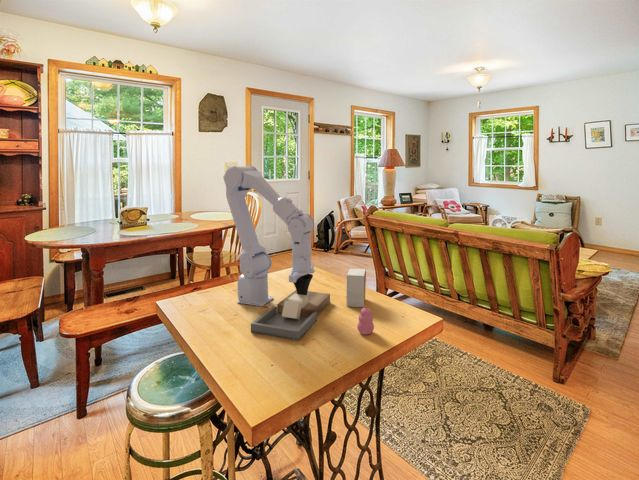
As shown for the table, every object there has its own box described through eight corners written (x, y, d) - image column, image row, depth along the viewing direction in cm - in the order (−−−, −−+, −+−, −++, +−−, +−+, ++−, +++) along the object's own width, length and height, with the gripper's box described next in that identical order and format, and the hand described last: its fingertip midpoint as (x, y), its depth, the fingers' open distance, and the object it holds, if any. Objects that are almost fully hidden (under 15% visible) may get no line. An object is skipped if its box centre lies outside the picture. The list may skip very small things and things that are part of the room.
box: (251, 332, 98) (250, 323, 98) (273, 313, 110) (273, 306, 110) (298, 340, 94) (298, 331, 93) (316, 320, 105) (316, 312, 105)
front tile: (284, 317, 107) (281, 316, 104) (288, 302, 108) (284, 300, 106) (299, 319, 105) (295, 318, 103) (302, 304, 106) (299, 302, 104)
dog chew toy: (358, 328, 101) (359, 303, 99) (375, 330, 99) (375, 305, 98) (355, 335, 97) (355, 309, 95) (372, 337, 95) (372, 311, 94)
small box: (363, 308, 115) (364, 276, 112) (346, 306, 116) (346, 275, 114) (365, 299, 122) (366, 268, 120) (349, 297, 123) (349, 267, 121)
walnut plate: (277, 313, 110) (277, 304, 110) (296, 298, 123) (296, 289, 123) (314, 319, 106) (314, 309, 106) (330, 302, 119) (330, 294, 118)
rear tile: (288, 306, 108) (288, 298, 108) (294, 301, 112) (294, 293, 112) (302, 308, 107) (302, 300, 106) (308, 303, 111) (307, 295, 110)
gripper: (304, 262, 101) (305, 308, 104) (322, 250, 115) (322, 291, 118) (281, 260, 104) (283, 304, 107) (301, 249, 117) (302, 289, 120)
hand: (302, 297), depth 112 cm, fingers closed
